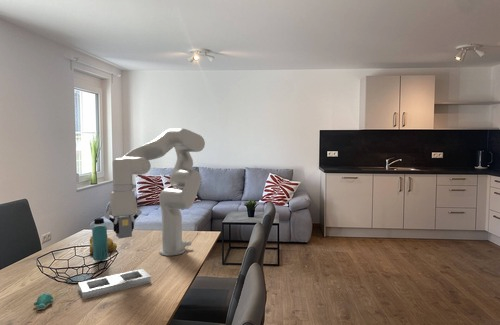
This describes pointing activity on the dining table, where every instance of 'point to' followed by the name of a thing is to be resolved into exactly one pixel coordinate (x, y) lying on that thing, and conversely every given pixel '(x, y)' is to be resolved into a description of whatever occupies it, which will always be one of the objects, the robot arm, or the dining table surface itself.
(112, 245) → the bread roll
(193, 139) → the robot arm
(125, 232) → the block
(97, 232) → the beverage bottle
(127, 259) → the dining table surface
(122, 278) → the rail
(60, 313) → the dining table surface
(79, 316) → the dining table surface
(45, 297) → the whale figurine
